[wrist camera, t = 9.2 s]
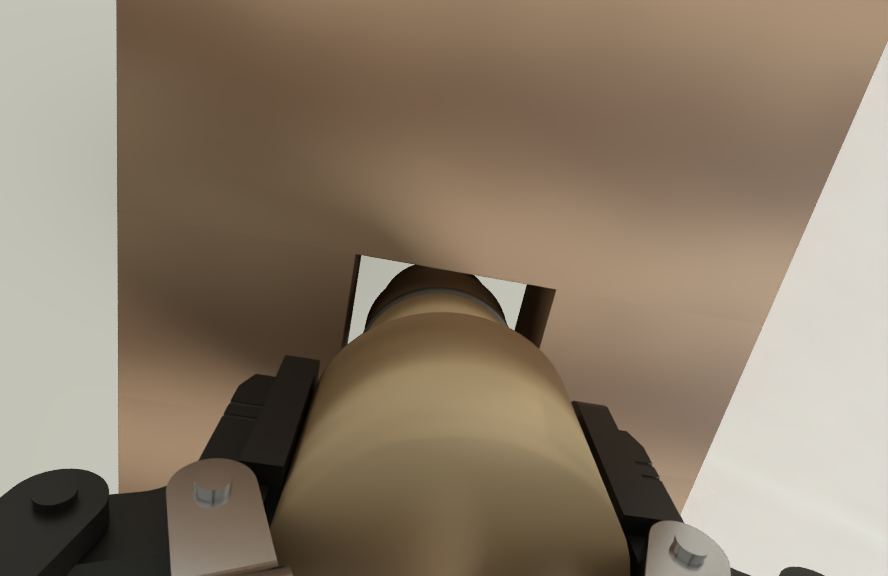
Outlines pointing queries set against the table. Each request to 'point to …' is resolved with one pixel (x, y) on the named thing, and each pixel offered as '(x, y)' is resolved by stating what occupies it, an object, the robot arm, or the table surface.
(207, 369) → the wooden board with hole
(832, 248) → the table surface
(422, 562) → the oak peg
